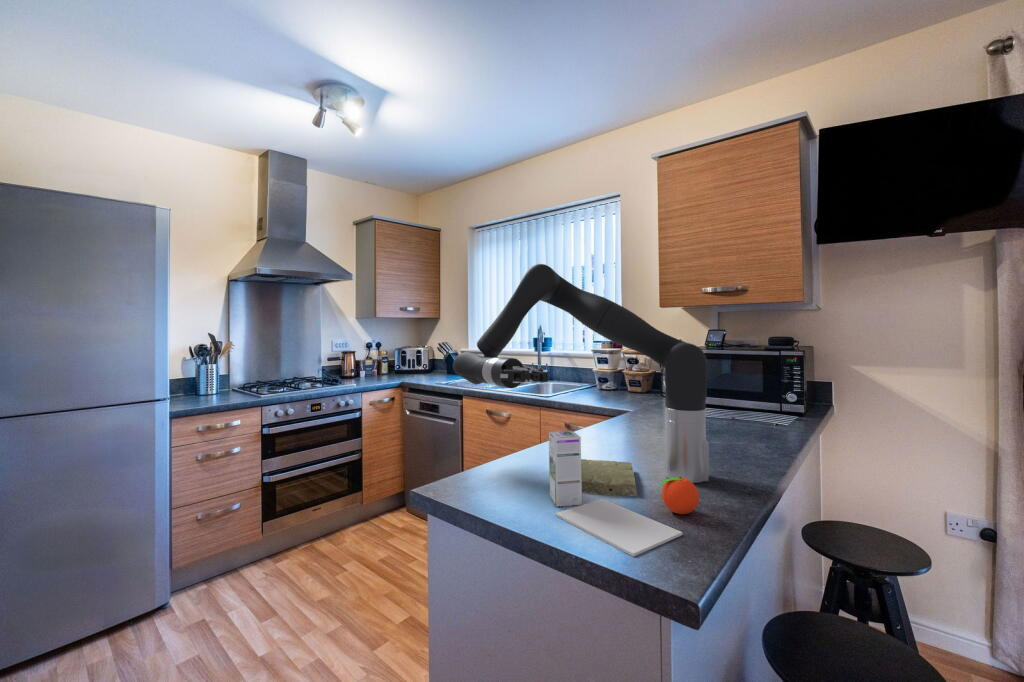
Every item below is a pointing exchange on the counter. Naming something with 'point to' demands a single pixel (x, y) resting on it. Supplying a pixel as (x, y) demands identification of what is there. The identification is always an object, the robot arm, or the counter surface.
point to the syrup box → (565, 468)
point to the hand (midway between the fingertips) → (545, 377)
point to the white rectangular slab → (619, 526)
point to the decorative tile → (608, 477)
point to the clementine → (680, 495)
